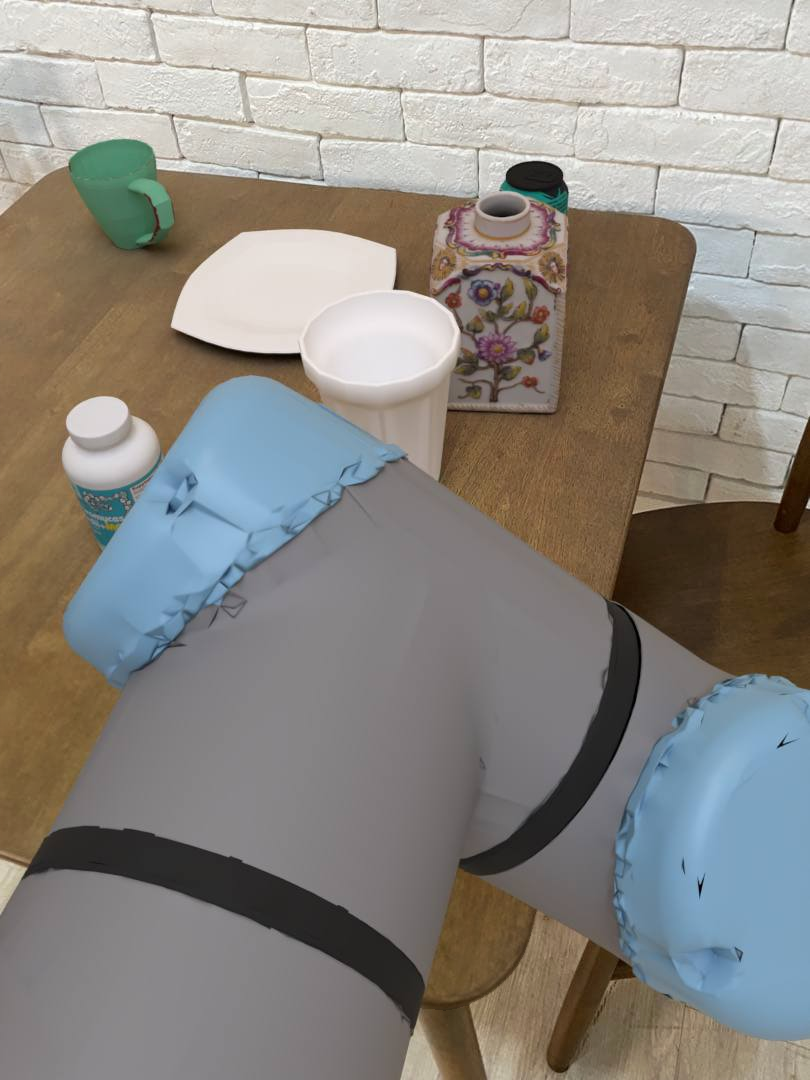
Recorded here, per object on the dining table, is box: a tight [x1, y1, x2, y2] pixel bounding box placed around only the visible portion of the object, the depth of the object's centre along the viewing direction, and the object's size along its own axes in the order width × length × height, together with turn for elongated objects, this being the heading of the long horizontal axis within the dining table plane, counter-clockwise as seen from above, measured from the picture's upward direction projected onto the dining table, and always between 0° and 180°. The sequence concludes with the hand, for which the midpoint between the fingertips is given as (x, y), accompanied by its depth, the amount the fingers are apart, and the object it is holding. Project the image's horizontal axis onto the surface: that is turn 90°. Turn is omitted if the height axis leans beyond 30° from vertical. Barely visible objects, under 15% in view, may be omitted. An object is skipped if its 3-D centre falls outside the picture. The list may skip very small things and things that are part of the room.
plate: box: [170, 228, 397, 355], centre depth 102 cm, size 23×23×2 cm
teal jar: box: [498, 160, 570, 217], centre depth 98 cm, size 7×7×12 cm
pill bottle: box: [61, 395, 165, 552], centre depth 75 cm, size 8×7×14 cm
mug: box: [67, 138, 176, 250], centre depth 108 cm, size 15×10×10 cm
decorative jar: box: [427, 190, 571, 414], centre depth 85 cm, size 12×12×18 cm
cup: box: [298, 289, 460, 483], centre depth 77 cm, size 12×12×15 cm
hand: (340, 682), depth 56 cm, fingers closed
